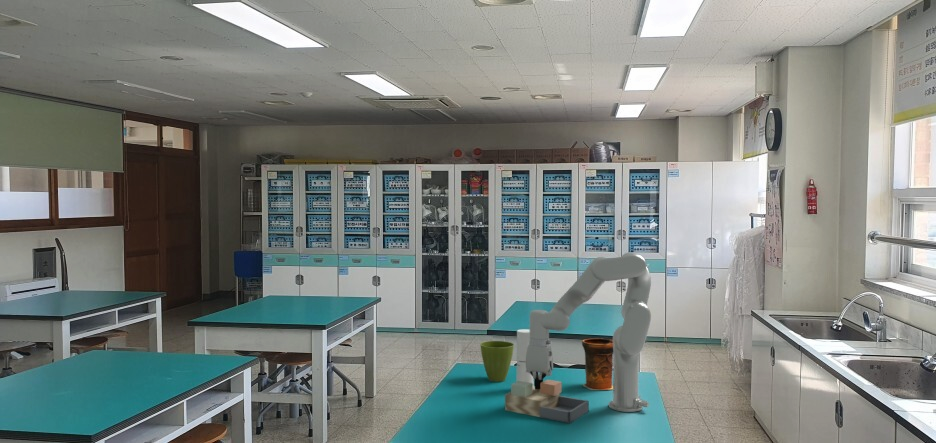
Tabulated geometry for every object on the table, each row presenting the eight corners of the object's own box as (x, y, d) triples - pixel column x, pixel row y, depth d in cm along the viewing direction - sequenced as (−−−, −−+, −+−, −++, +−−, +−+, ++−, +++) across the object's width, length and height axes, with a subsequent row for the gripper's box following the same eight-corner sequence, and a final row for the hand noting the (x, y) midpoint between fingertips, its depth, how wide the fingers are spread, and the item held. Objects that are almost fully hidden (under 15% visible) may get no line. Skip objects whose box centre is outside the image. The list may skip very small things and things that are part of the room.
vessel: (590, 392, 278) (591, 344, 278) (576, 384, 292) (576, 338, 292) (621, 390, 282) (622, 342, 282) (606, 382, 296) (606, 337, 296)
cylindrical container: (527, 393, 277) (528, 333, 276) (513, 390, 282) (513, 331, 281) (536, 389, 283) (537, 330, 282) (522, 386, 287) (522, 328, 286)
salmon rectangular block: (561, 392, 257) (561, 381, 257) (554, 395, 252) (554, 385, 252) (547, 389, 261) (547, 379, 261) (540, 393, 256) (540, 382, 256)
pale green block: (532, 393, 255) (532, 383, 255) (525, 397, 250) (525, 386, 250) (518, 391, 259) (518, 380, 259) (511, 394, 254) (511, 384, 254)
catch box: (588, 411, 253) (588, 400, 253) (569, 423, 239) (569, 412, 239) (559, 405, 260) (559, 395, 260) (539, 417, 245) (539, 406, 245)
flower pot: (475, 376, 303) (475, 341, 302) (506, 374, 307) (506, 339, 307) (486, 385, 289) (486, 348, 288) (518, 382, 293) (518, 346, 293)
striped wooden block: (559, 406, 259) (559, 390, 259) (540, 417, 246) (540, 401, 246) (525, 399, 267) (525, 385, 267) (505, 410, 254) (505, 394, 254)
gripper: (560, 342, 258) (560, 389, 259) (526, 338, 266) (526, 383, 267) (552, 346, 252) (551, 394, 252) (517, 341, 260) (517, 388, 260)
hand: (538, 388), depth 260 cm, fingers closed
